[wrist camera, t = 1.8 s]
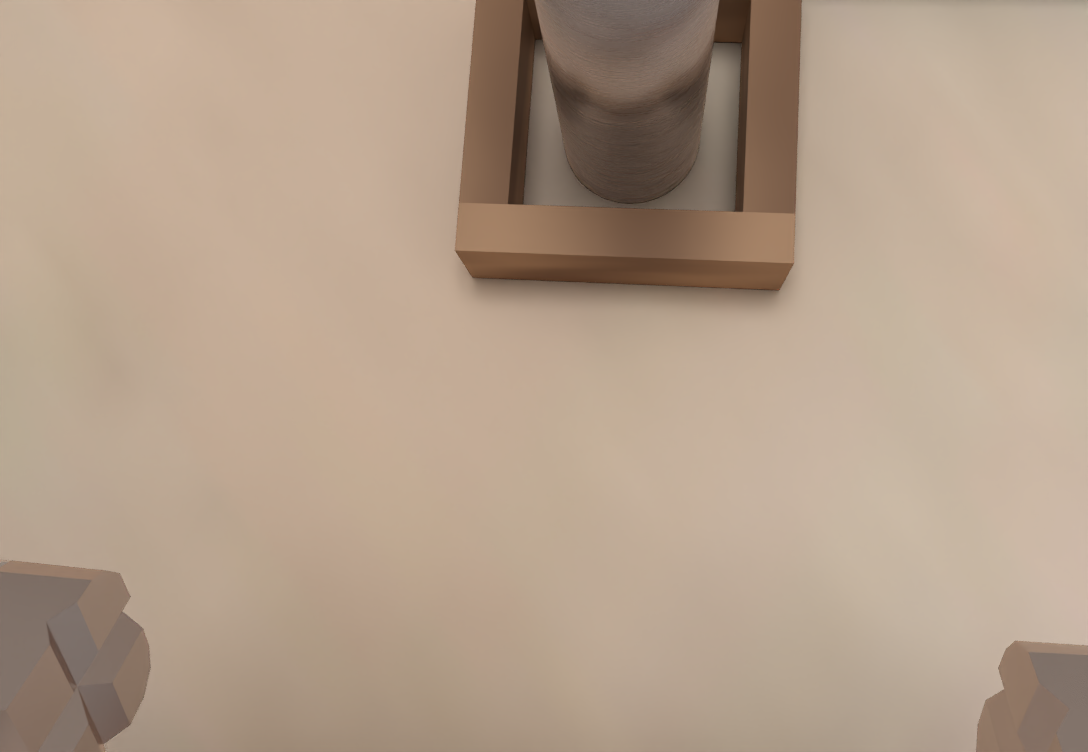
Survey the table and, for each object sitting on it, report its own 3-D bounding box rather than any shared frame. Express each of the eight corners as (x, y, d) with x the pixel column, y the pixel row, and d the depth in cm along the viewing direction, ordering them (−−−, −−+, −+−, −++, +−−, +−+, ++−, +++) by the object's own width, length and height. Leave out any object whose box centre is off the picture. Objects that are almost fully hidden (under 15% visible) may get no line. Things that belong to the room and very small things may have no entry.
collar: (472, 277, 26) (454, 250, 24) (495, -2, 28) (480, -55, 25) (779, 289, 25) (793, 263, 23) (788, 1, 27) (803, -53, 24)
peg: (560, 200, 26) (492, -72, 15) (568, 74, 27) (510, -286, 15) (696, 205, 26) (739, -71, 14) (702, 76, 27) (748, -291, 15)
